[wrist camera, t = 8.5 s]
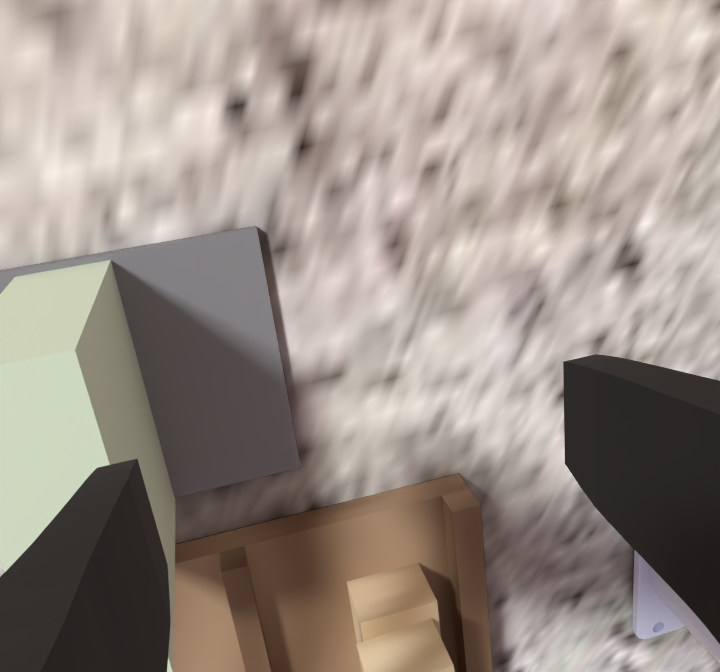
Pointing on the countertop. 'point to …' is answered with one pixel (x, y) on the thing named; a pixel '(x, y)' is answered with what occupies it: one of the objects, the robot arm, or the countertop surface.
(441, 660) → the offcut stack
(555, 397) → the countertop surface
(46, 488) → the pale green block
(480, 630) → the walnut rack
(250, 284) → the pad
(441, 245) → the countertop surface
